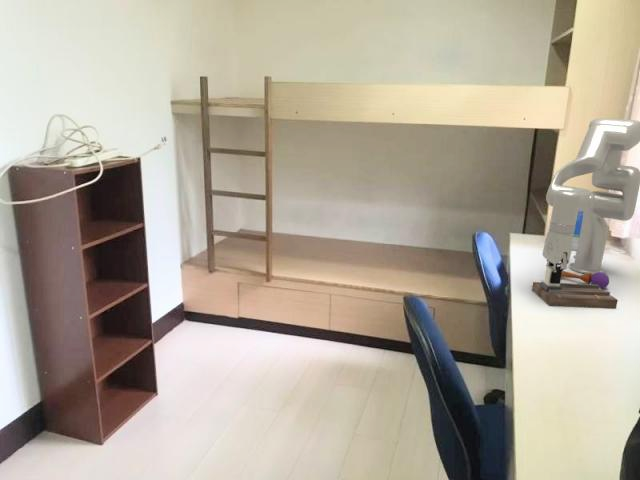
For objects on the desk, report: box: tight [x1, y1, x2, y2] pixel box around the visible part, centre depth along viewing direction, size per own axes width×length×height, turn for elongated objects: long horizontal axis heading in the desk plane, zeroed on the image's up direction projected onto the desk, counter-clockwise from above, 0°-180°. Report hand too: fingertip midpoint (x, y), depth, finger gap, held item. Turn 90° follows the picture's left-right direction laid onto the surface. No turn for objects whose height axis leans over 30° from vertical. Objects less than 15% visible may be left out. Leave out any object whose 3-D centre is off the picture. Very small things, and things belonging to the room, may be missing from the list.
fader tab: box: [540, 265, 562, 291], centre depth 174 cm, size 4×5×8 cm
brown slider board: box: [531, 281, 619, 309], centre depth 176 cm, size 14×22×4 cm, turn 91°
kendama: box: [561, 270, 610, 290], centre depth 193 cm, size 6×6×20 cm
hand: (552, 280), depth 174 cm, fingers closed on fader tab, 3 cm apart
